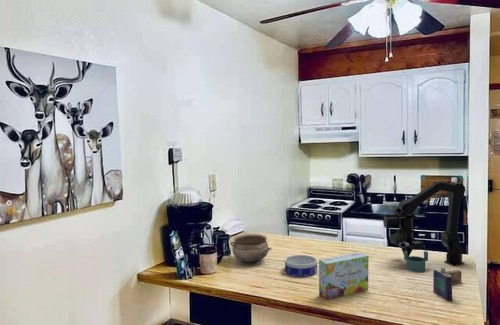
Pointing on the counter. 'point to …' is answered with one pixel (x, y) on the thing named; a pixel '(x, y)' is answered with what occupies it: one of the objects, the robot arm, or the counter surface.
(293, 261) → the dog bowl
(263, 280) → the counter surface
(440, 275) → the flask
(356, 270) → the snack box
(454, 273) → the stop rail
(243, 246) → the cooking pot
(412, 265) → the bracket
